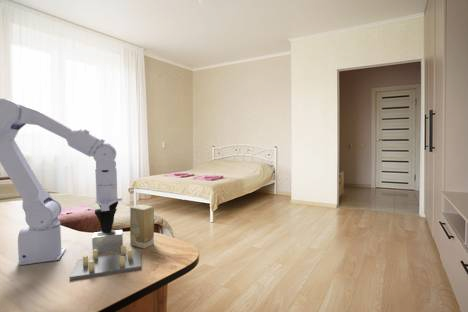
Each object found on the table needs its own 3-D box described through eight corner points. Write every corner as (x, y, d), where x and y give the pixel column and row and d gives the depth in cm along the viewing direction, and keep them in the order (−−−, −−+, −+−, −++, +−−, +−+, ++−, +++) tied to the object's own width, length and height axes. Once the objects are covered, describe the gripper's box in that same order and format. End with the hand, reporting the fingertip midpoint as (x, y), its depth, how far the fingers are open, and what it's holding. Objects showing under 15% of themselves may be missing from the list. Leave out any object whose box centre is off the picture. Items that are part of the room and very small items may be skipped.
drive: (92, 254, 79) (92, 237, 79) (94, 248, 83) (94, 232, 83) (122, 250, 82) (121, 233, 81) (122, 245, 86) (122, 229, 85)
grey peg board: (69, 280, 64) (69, 266, 64) (77, 262, 73) (77, 250, 73) (141, 269, 70) (140, 256, 69) (140, 253, 79) (140, 242, 79)
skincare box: (129, 245, 85) (128, 206, 85) (140, 240, 89) (139, 203, 88) (144, 249, 82) (143, 209, 82) (155, 244, 86) (154, 206, 85)
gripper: (119, 187, 76) (121, 235, 77) (122, 180, 89) (123, 220, 90) (91, 189, 73) (93, 238, 74) (98, 181, 87) (99, 222, 88)
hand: (108, 228), depth 82 cm, fingers open, 7 cm apart
